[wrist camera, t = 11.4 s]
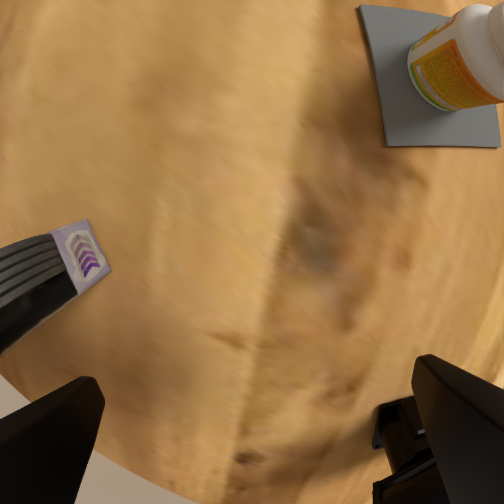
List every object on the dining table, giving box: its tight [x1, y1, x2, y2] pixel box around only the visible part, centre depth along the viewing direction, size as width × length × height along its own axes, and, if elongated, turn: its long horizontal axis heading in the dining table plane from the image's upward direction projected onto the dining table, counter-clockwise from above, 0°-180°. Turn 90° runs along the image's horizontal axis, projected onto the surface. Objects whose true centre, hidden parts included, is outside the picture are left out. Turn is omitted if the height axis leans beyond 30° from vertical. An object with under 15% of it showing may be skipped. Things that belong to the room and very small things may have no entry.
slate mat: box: [359, 5, 501, 148], centre depth 15 cm, size 10×10×1 cm
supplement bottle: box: [407, 2, 504, 111], centre depth 11 cm, size 5×5×10 cm
